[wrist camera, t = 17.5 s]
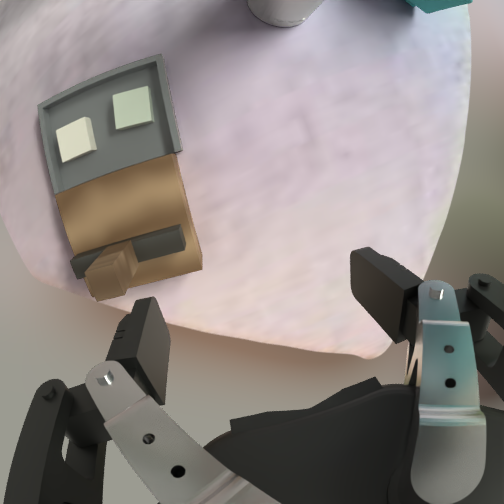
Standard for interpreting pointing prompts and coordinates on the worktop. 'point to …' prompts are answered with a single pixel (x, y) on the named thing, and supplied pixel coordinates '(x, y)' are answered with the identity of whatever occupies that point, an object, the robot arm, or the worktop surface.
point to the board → (133, 215)
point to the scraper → (124, 260)
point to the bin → (110, 123)
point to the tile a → (76, 139)
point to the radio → (436, 4)
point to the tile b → (133, 108)
